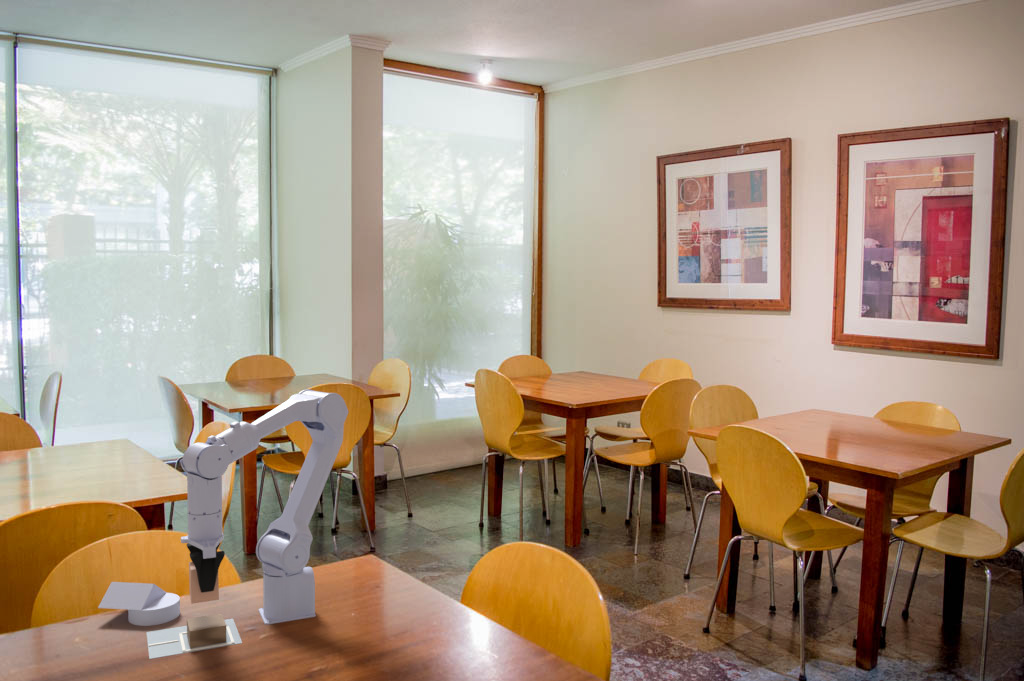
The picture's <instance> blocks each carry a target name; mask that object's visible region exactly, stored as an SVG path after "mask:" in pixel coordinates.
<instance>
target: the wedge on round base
mask: <svg viewBox="0 0 1024 681" xmlns="http://www.w3.org/2000/svg"><path fill="white" fill-rule="evenodd" d="M97 608H98V609H109V610H110V609H112V610H113V609H114V610H127V612H128V616H127V617H128V619H127V621H128V622H129V623H130V624H132V625H134V626H141V627H143V626H144V627H147V626H148V627H149V626H150V627H151V626H157V625H161V624H166V623H169V622H171V621H174V620H176V619H177V618H178V617H179V616H180V614H181V598H180V596H179V595H178V594H176V593H173V592H167V591H165V590H164V589H162V588H161V587H159V586H158V585H156V584H155V583H146V582H145V583H143V582H125V581H124V582H123V581H111V582H110V584H109V586H108V588H107V590H106V592H105V594H104V595H103V598H102V599H101V601H100V603H99V605H98V607H97Z"/></svg>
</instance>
